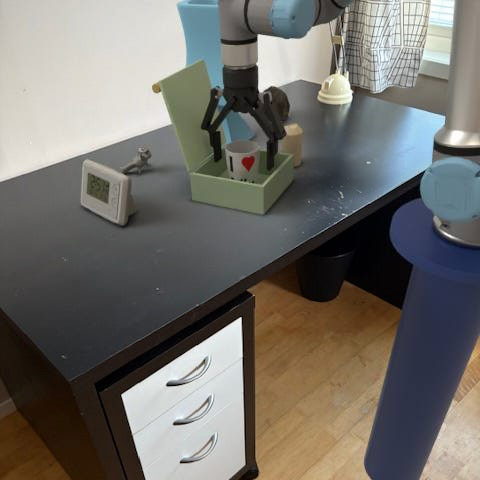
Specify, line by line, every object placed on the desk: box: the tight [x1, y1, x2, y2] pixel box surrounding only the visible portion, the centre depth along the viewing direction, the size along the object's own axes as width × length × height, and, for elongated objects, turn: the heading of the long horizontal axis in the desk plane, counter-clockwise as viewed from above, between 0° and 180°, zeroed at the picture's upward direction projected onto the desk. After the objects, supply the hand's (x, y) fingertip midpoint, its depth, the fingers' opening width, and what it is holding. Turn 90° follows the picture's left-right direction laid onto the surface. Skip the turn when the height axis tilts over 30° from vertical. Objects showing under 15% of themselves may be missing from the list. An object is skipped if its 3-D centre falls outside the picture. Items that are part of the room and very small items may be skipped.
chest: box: [189, 144, 294, 216], centre depth 114 cm, size 19×19×7 cm
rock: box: [258, 85, 291, 122], centre depth 150 cm, size 10×11×10 cm
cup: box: [225, 140, 261, 184], centre depth 113 cm, size 8×8×10 cm
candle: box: [280, 123, 304, 168], centre depth 124 cm, size 6×6×10 cm
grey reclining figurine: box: [119, 147, 152, 175], centre depth 125 cm, size 10×6×9 cm
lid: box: [151, 59, 227, 172], centre depth 111 cm, size 19×19×8 cm
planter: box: [176, 0, 254, 147], centre depth 129 cm, size 16×16×35 cm
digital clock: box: [80, 158, 136, 227], centre depth 107 cm, size 16×9×11 cm, turn 37°
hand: (243, 164), depth 112 cm, fingers open, 13 cm apart
